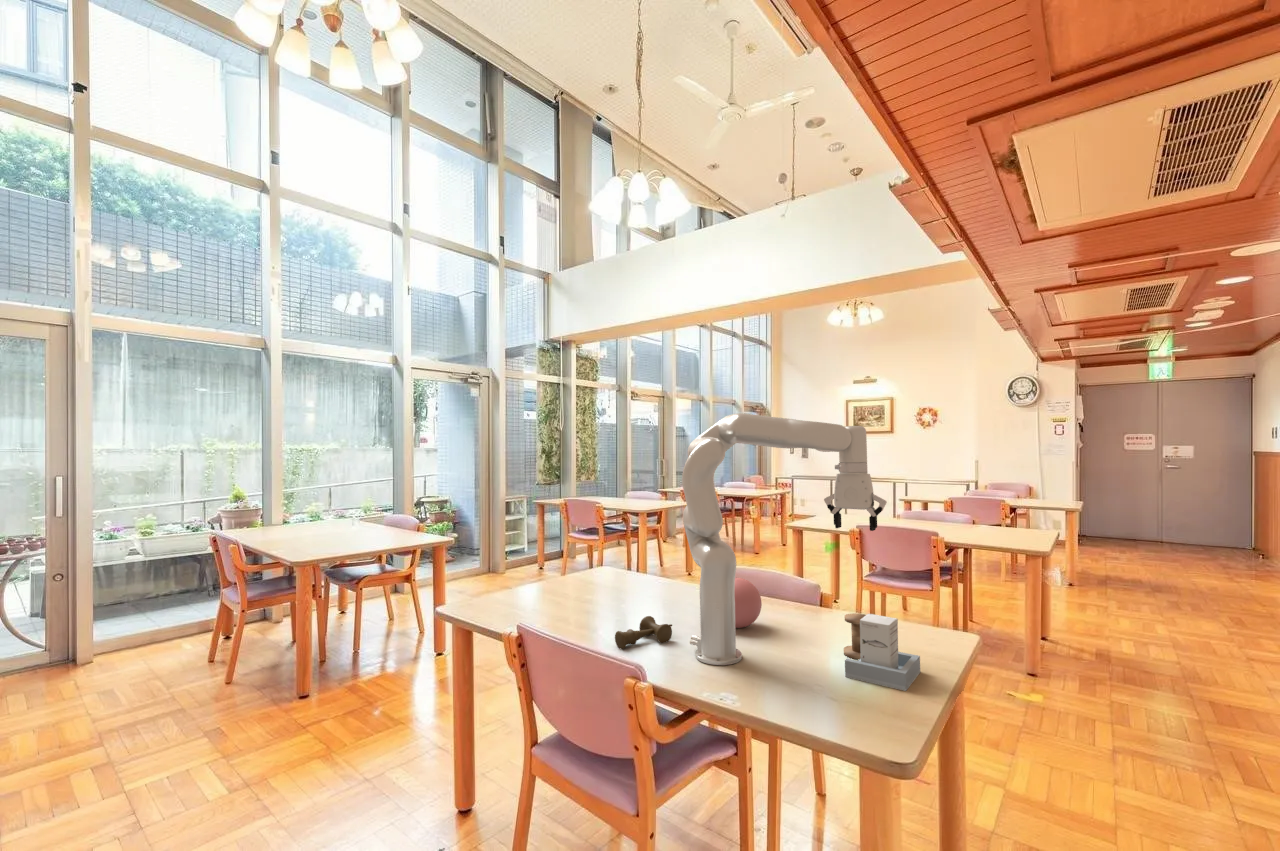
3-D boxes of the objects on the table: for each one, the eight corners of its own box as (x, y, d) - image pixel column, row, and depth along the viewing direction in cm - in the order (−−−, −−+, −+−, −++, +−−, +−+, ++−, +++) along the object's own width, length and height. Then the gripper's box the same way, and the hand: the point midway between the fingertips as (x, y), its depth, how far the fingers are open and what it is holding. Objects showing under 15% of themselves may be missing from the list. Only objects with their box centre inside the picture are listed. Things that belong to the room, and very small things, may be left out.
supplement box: (859, 670, 142) (858, 619, 143) (869, 661, 148) (868, 612, 148) (891, 677, 137) (889, 624, 138) (899, 668, 143) (898, 617, 144)
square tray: (845, 676, 141) (844, 660, 141) (863, 659, 152) (862, 644, 152) (905, 691, 132) (905, 673, 132) (920, 672, 143) (919, 655, 143)
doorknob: (839, 656, 155) (838, 618, 155) (849, 647, 161) (848, 611, 162) (869, 662, 150) (868, 623, 150) (878, 653, 156) (877, 616, 157)
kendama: (609, 646, 168) (662, 630, 179) (628, 656, 160) (682, 639, 172) (608, 625, 168) (662, 611, 179) (627, 634, 160) (682, 619, 172)
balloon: (727, 613, 196) (726, 568, 197) (772, 628, 180) (771, 578, 180) (693, 622, 187) (692, 575, 188) (737, 638, 171) (736, 586, 171)
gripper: (819, 469, 166) (820, 528, 165) (881, 469, 155) (883, 533, 154) (828, 468, 172) (830, 525, 171) (888, 468, 161) (890, 529, 160)
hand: (855, 528), depth 163 cm, fingers open, 9 cm apart
